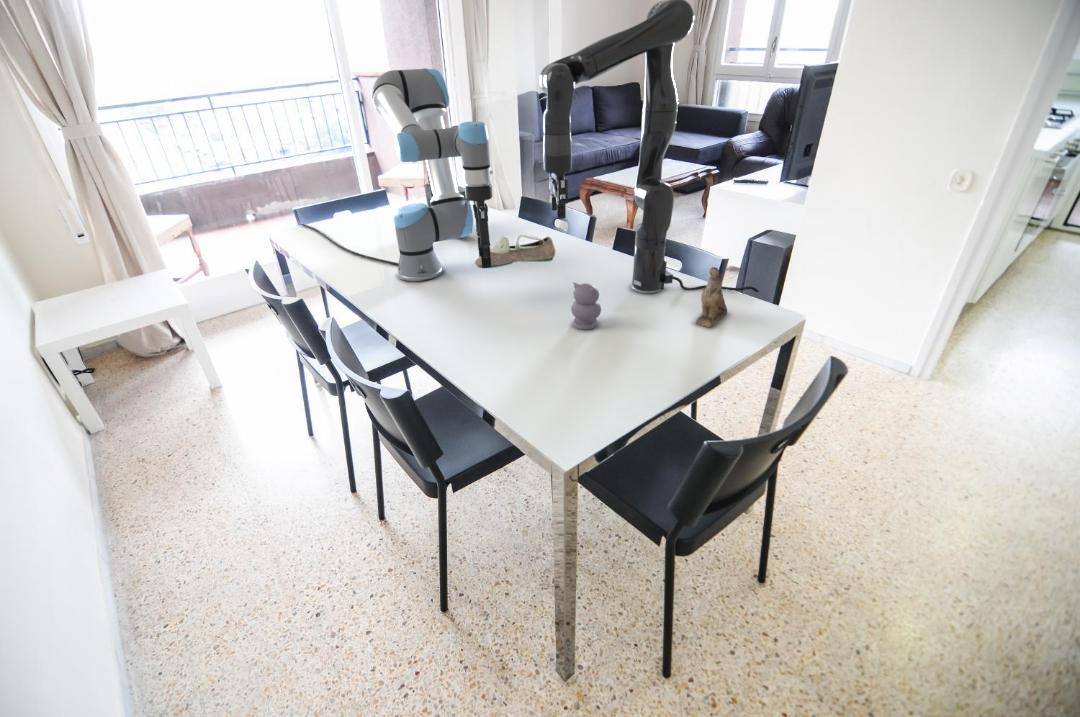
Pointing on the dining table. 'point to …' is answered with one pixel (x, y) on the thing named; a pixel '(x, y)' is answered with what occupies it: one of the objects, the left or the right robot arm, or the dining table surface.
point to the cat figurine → (585, 306)
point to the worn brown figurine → (712, 301)
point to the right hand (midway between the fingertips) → (558, 214)
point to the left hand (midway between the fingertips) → (485, 262)
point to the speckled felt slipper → (520, 252)
